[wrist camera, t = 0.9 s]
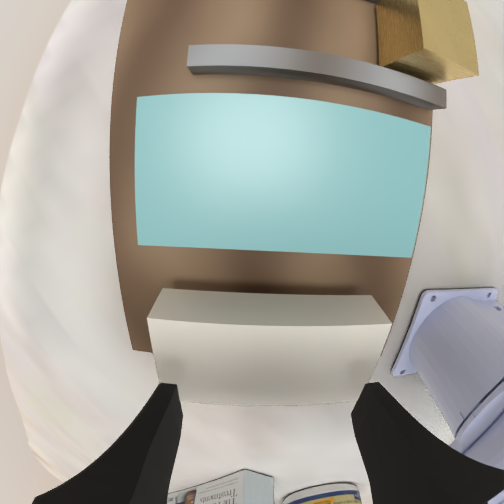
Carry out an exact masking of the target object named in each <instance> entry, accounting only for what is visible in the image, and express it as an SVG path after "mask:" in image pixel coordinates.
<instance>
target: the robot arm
mask: <svg viewBox="0 0 504 504" xmlns="http://www.w3.org/2000/svg"><path fill="white" fill-rule="evenodd" d="M497 295H498V289H496V288H475V289H449V290H426V291H424V292H423V293H422V295H421V297H420V300H419V303H418V306H417V309H416V312H415V315H414V317H413V320H412V323H411V326H410V328H409V331H408V333H407V336H406V338H405V341H404V343H403V346H402V348H401V351H400V353H399V355H398V357H397V360H396V362H395V364H394V366H393V369H392V371H391V373H392V375H393V376H394V377H397V376H403V375H409V374H415V373H418V374H419V376H420V378H421V379H422V381H423V383H424V384H425V386H426V387H427V389H428V391H429V393H430V394H431V396H432V398H433V399H434V401H435V403H436V404H437V406H438V408H439V410H440V411H441V413H442V415H443V417H444V418H445V420H446V422H447V424H448V426H449V428H450V429H451V431H452V433H453V435H454V437H455V438H456V439H455V440H454V441H453V442H452V443H451V444H450V445H449V446H448V445H447V444H445V443H444V442H443V441H441V440H440V439H438V438H437V437H436V436H434V435H433V434H432V433H431V432H429V431H428V430H427V429H426V428H425V427H424V426H422V425H421V424H420V423H419V422H418V421H417V420H416V419H415V418H414V417H413V416H411V415H410V414H409V413H408V412H407V411H406V410H405V409H404V408H403V407H402V406H401V405H400V404H399V403H398V401H397V400H396V399H395V398H394V397H393V396H392V395H391V394H390V393H389V392H388V391H387V390H386V389H385V388H384V387H383V386H382V385H381V384H380V383H379V382H375V383H367V384H365V385H364V388H363V390H362V392H361V394H360V396H359V399H358V401H357V403H356V405H355V407H354V409H353V411H352V413H351V417H352V423H353V428H354V434H355V437H356V441H357V444H358V447H359V450H360V453H361V456H362V459H363V462H364V465H365V468H366V471H367V475H368V478H369V482H370V487H371V493H372V499H373V504H504V307H503V306H502V305H500V304H499V303H498V302H497V301H496V298H497ZM432 296H433V297H432ZM431 297H432V298H431ZM182 419H183V413H182V409H181V403H180V398H179V393H178V387H177V384H169V383H160V384H159V385H158V386H157V388H156V390H155V391H154V393H153V394H152V396H151V397H150V399H149V400H148V402H147V403H146V404H145V406H144V407H143V409H142V410H141V411H140V413H139V414H138V415H137V416H136V418H135V419H134V420H133V422H132V423H131V424H130V425H129V427H128V428H127V429H126V430H125V431H124V432H123V433H122V435H121V436H120V437H119V438H118V439H117V440H116V441H115V442H114V443H113V444H112V445H111V446H110V447H109V448H108V449H107V450H106V451H105V452H104V453H103V454H102V455H101V456H100V457H99V458H98V459H96V460H95V461H94V462H93V463H92V464H90V465H89V466H88V467H87V468H85V469H84V470H83V471H81V472H80V473H79V474H77V475H76V476H74V477H72V478H71V479H69V480H68V481H66V482H65V483H63V484H61V485H60V486H58V487H56V488H54V489H52V490H50V491H48V492H46V493H44V494H41V495H39V496H37V497H35V499H34V501H33V503H32V504H167V497H168V489H169V483H170V479H171V475H172V470H173V466H174V462H175V458H176V454H177V450H178V445H179V441H180V436H181V428H182Z"/></svg>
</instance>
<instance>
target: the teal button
mask: <svg viewBox="0 0 504 504" xmlns="http://www.w3.org/2000/svg"><path fill="white" fill-rule="evenodd" d="M430 134H431V127H430V126H427V125H424V124H420V123H417V122H414V121H410V120H407V119H403V118H400V117H396V116H392V115H388V114H384V113H380V112H376V111H371V110H367V109H362V108H357V107H352V106H347V105H342V104H336V103H330V102H324V101H317V100H310V99H302V98H294V97H284V96H273V95H259V94H239V93H187V94H167V95H154V96H143V97H137V107H136V126H135V204H136V224H137V238H138V245H148V246H171V247H193V248H215V249H237V250H259V251H281V252H302V253H324V254H345V255H366V256H387V257H407V258H412V254H413V249H414V245H415V241H416V236H417V231H418V226H419V221H420V216H421V210H422V204H423V198H424V192H425V184H426V177H427V168H428V159H429V148H430Z"/></svg>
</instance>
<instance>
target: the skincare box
mask: <svg viewBox="0 0 504 504" xmlns="http://www.w3.org/2000/svg"><path fill="white" fill-rule="evenodd" d="M167 504H274V478H273V477H269V476H265V475H262V474H258V473H255V472H252V471H249V470H242V471H239V472H237V473H234V474H231V475H229V476H226V477H223V478H220V479H217V480H214V481H211V482H208V483H205V484H202V485H199V486H195V487H192V488H188V489H185V490H181V491H177V492H174V493H170V494H168V497H167Z"/></svg>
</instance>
